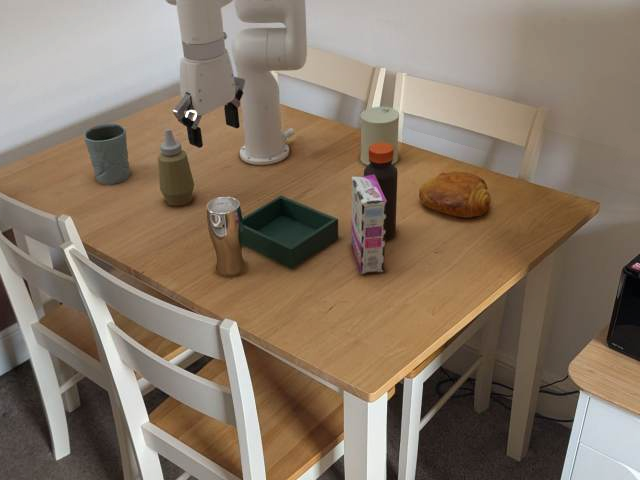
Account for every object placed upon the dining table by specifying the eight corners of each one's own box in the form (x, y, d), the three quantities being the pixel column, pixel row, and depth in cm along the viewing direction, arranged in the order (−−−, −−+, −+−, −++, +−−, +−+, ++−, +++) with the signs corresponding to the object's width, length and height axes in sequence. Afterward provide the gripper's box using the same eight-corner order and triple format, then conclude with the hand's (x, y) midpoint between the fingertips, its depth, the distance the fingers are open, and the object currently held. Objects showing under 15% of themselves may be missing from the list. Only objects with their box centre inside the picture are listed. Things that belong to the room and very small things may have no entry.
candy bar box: (385, 272, 159) (387, 200, 149) (361, 275, 159) (361, 204, 149) (374, 242, 168) (375, 172, 158) (350, 245, 168) (350, 175, 158)
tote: (282, 213, 180) (280, 195, 177) (338, 238, 171) (338, 218, 168) (235, 241, 173) (233, 222, 170) (292, 269, 163) (291, 249, 160)
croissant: (468, 236, 171) (475, 205, 165) (407, 206, 178) (412, 176, 173) (502, 205, 179) (510, 176, 173) (442, 178, 186) (448, 149, 180)
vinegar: (387, 245, 167) (389, 158, 155) (358, 237, 170) (358, 152, 158) (400, 229, 171) (404, 143, 159) (371, 222, 175) (372, 137, 162)
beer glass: (252, 260, 167) (245, 197, 157) (240, 279, 162) (233, 215, 152) (221, 256, 169) (212, 194, 159) (209, 275, 164) (200, 212, 154)
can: (404, 154, 198) (406, 108, 191) (388, 170, 192) (389, 123, 185) (370, 147, 202) (370, 102, 195) (353, 163, 196) (353, 117, 189)
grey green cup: (86, 183, 199) (75, 138, 192) (106, 164, 207) (97, 121, 199) (121, 187, 196) (112, 142, 189) (140, 168, 203) (132, 124, 196)
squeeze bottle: (191, 209, 185) (180, 138, 174) (158, 208, 187) (145, 137, 175) (200, 192, 191) (190, 121, 180) (167, 191, 193) (155, 121, 182)
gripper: (224, 28, 148) (233, 114, 159) (153, 58, 139) (168, 147, 150) (252, 36, 144) (260, 124, 155) (181, 68, 135) (194, 159, 146)
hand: (214, 135), depth 153 cm, fingers open, 9 cm apart
